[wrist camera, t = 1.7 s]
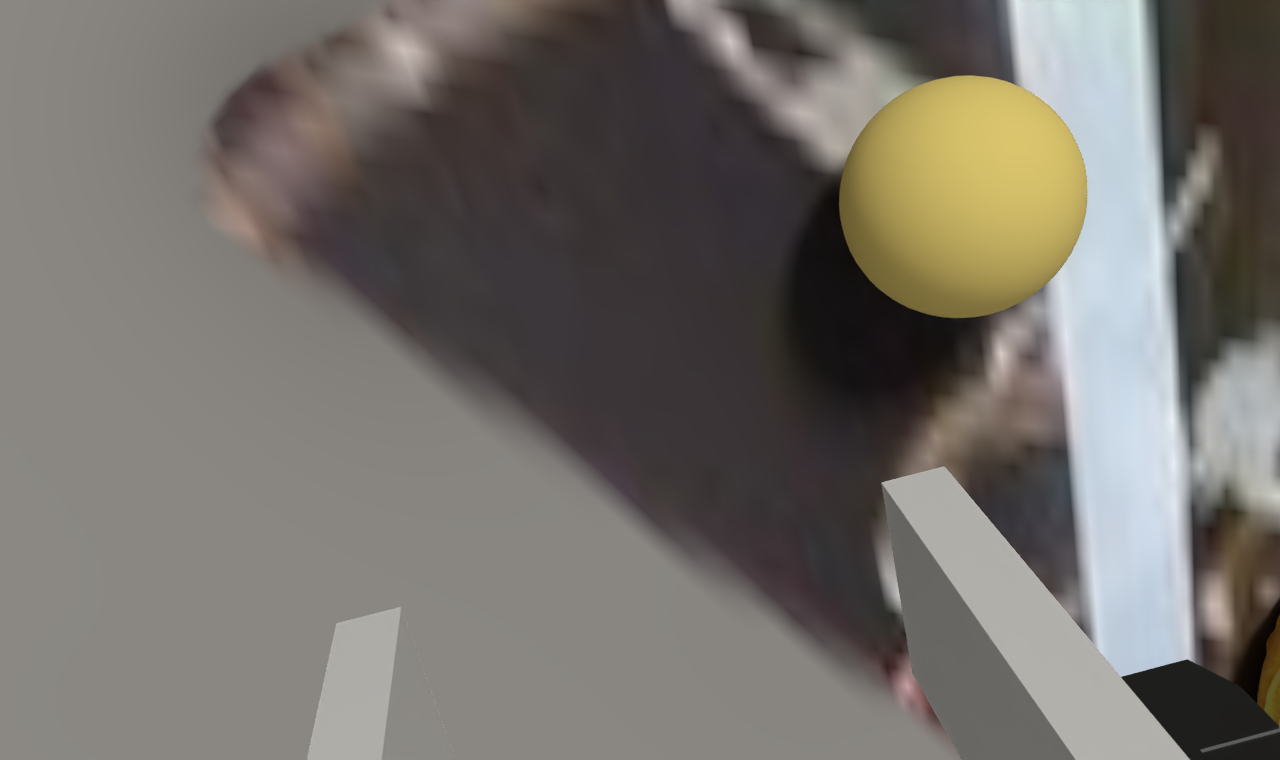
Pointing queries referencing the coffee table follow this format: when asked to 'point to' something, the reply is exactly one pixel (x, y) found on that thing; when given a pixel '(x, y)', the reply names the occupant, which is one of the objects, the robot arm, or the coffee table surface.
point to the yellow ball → (963, 196)
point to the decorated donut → (1271, 677)
